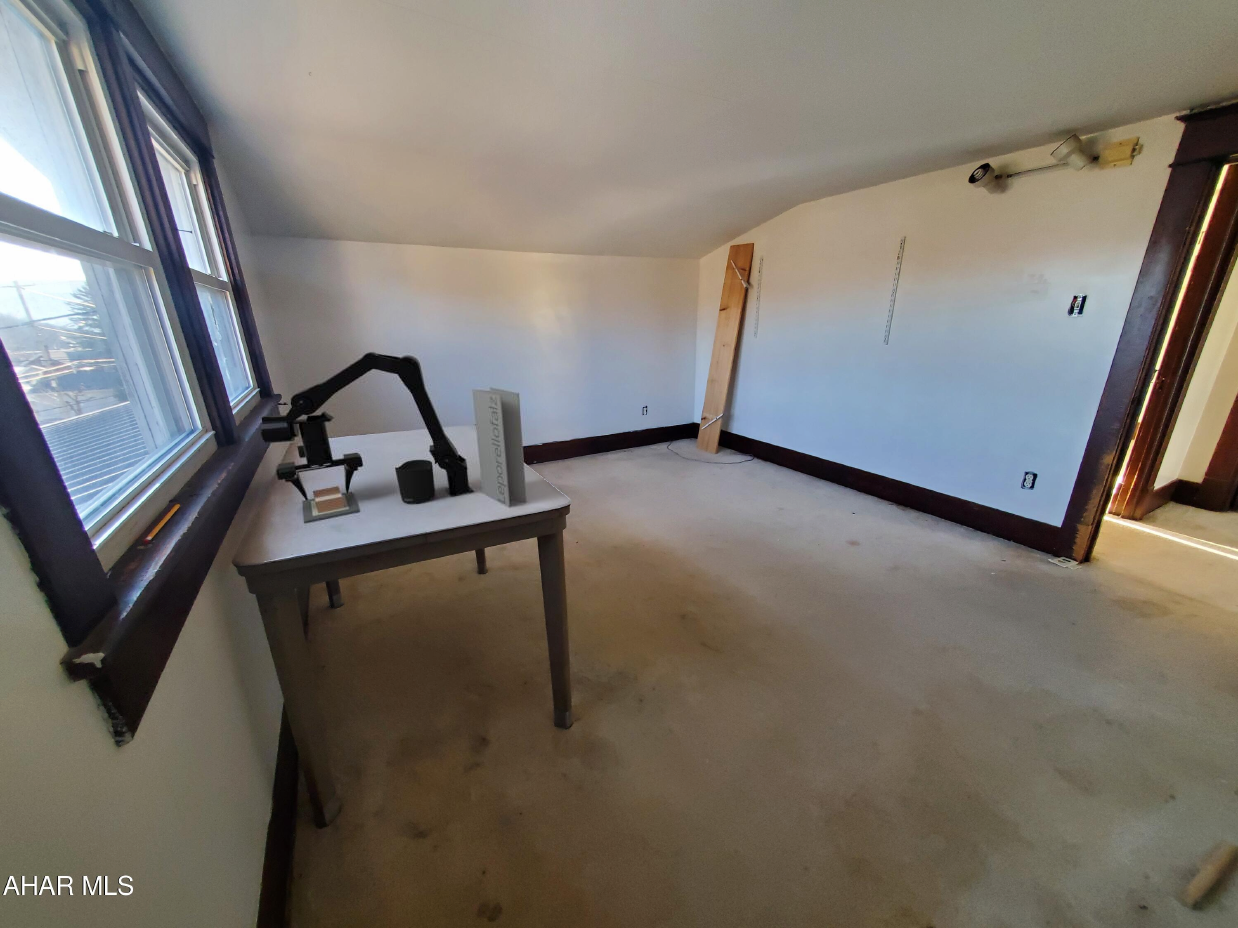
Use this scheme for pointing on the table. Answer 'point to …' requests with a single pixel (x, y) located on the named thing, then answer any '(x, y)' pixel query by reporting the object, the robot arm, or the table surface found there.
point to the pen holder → (416, 481)
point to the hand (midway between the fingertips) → (327, 496)
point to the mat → (312, 514)
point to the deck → (328, 499)
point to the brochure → (500, 444)
